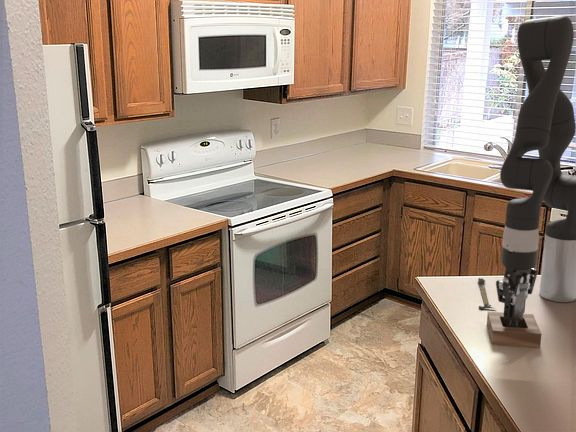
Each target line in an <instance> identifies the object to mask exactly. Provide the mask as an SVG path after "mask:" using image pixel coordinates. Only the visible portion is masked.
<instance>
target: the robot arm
mask: <svg viewBox="0 0 576 432" xmlns="http://www.w3.org/2000/svg"><path fill="white" fill-rule="evenodd" d="M574 32H575V31H574V26H573V22H572V20H571V19H570V17H568V16H566V15H555V16H549V17H548V16H547V17H540V18H532V19H527V20H524V21H522V22H521V23H520V25H518V29H517V33H516V35H517V37H516V38H517V48H518V54H519V56H520V58H519V59H520V62H521V67H522V70H523V74H524V76H525V81H526V85H527V89H528V95H527V96H526V98H525V99H524V101H523V103H522V105H521V106H520V109H519V112H518V115H517V116H518V117H517V122H516V129H515V134H514V135H515V136H514V138H513V142H512V144H511V147H510V150H509V152H508V154H507V156H506V158H505V160H504V161H503V164H502V166H501V169H500V171H499V172H500V173H499V178H500V181H501V183H502V185H503V186H504V188H507V189H511V190H523V191H531V192H532V194H531V195H530V196H528V197H521V198H520V197H519V198H514V199H511V200H509V201H508V202H507V204H506V211H505V224H504V230H503V233H502V236H503V237H502V245H501V246H502V247H501V259H500V263H501V265H502V266H504V268H505V271H504V274H503V278H502V279H500V280H499V279H497V280H496V281H495V286H496V293H497V299H498V302H500V303H503V304H504V307H503V313H504V317H505V318H507V319H510V320H511V319H513V318H514V310H515V300H516V296H517V295H519V292H520V290H519V286H521V284H522V283H523V282H524V283H527V282H528V288H527V289H526V291H525V302H524V312H523V314H525V311H526V301H527V299H528V298H529V295H532V294H533V291H534V287H535V283H536V280H537V277H538V272H539V270H538V269H536V267H537V262H538V260H537V259H538V250H539V240H540V237H539V236H540V232H539V231H540V230H539V226H540V217H541V208H542V205H543V203H544V204H545V206H547V207H549V208H551V209H555V210H560V211H566V212H567V213H566V218H563V219H557V220H552V221H549V222H547V223H546V225H545V231H544V243H543V254H542V263H541V274H540V283H539V284H540V285H539V291H538V292H539V293H538V294H539V296H540V297H542V298H543V299H545V300H547V301H551V302H557V303H571V302H574V301H576V175H573V174H565V173H563V171H562V170H561V159H562V156H563V155H564V153H565V152H566V150H567V149H568V148H569V146H570V144H571V142H572V140H573V139H574V137H575V133H576V118H575V110H574V106H573V103H572V101H571V100H570V98H569V97H568V96H567V95H566V93H564V91H563V90H562V89H561V86H562V83H563V79H564V77H565V73H566V71H567V66H568V63H569V59H570V57H571V53H572V49H573V44H574ZM543 61H549V63H548V66H547V68H546V69H545V66H544V63H543ZM532 151H537V152H538V158H536V157H535V158H534V157H524V155H525V154H527V153H529V152H532ZM509 288H513V289H515V291H512V290H509ZM510 294H511V295H512V298H510Z"/></svg>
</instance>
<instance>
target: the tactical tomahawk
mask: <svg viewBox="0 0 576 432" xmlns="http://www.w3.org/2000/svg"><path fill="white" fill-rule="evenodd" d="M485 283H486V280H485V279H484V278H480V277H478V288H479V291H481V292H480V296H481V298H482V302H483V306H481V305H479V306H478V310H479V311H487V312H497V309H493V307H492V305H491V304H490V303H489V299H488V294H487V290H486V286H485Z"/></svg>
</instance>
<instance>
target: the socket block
mask: <svg viewBox="0 0 576 432" xmlns="http://www.w3.org/2000/svg"><path fill="white" fill-rule="evenodd" d="M486 315H487V316H486V317H487V318H486V327H487V331H488V334H489V338H490V343H491V345H492V346H508V347H519V346H522V347H521V348H523V347H524V348H534V349H536V348H537V349H540V348H541V341H542V334H543V333H542V331H541V330H540V326H539V325H538V323H537V320H536V318H535V316H534V314H532V313H523V322H522V328H515V327H504V318H505V317H504V311H503V312H499V311H487V314H486Z"/></svg>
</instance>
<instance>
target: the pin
mask: <svg viewBox="0 0 576 432" xmlns="http://www.w3.org/2000/svg"><path fill="white" fill-rule="evenodd" d="M527 288H528V282H527V283H524V282H523V283H522V284H521V286H519V290H520V292H519V295H517V296H516V300H515V310H514V318H513V319H511V320H510V319H507V318H504V327H515V328H522V322H523V314H524V313H525V312H524V302H525V291H526V289H527ZM509 290H512V291H515V289H513V288H509ZM510 298H512V295H511V294H510ZM525 303H526V302H525ZM523 312H524V313H523Z"/></svg>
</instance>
